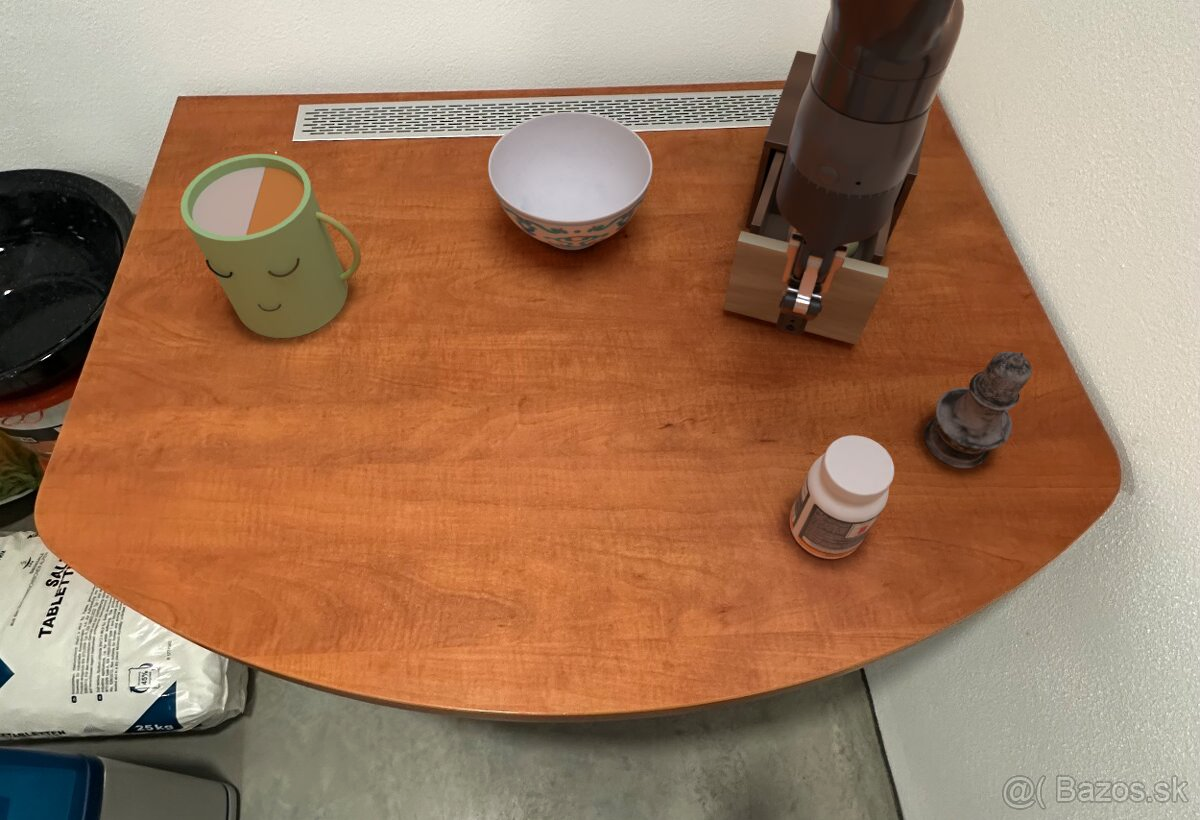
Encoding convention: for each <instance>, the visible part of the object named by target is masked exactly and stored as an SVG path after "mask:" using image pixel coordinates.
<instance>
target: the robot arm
mask: <svg viewBox="0 0 1200 820" xmlns="http://www.w3.org/2000/svg"><path fill="white" fill-rule="evenodd" d="M964 16H965V6H964V2H963V0H830V5H829V10H828V13H827V16H826V19H825V22H824V26H823V29H822V33H821V36H820V40H819V44H818V48H817V51H816V59H815V63H814V66H813V70H812V74H811V77H810V80H809V83H808V85H807V87H806V90H805V92H804V94H803V96H802V99H801V101H800V104H799V108H798V111H797V114H796V118H795V122H794V126H793V130H792V133H791V137H790V141H789V145H788V149H787V153H786V157H785V161H784V164H783V168H782V172H781V176H780V180H779V184H778V187H777V193H776V199H777V205H778V208H779V210H780V212H781V214H782V216H783V217H784V219H785V220H786V221H787V222H788V223H789V224H790V225H791V226H792V227H793V228H794V229H793V232H792V235H791V239H790V242H789V246H788V249H787V252H786V256H787V257H788V261H787V264H786V268H785V271H784V275H783V278H782V281H783V283H785V284H786V285H787V287H786V290H785V289H784V290H783V294H782V296H783V297H782V301H780V305H779V307H780V313H779V317H778V320H777V324H776V323H775V328H776V329H777V330H778V331H780V332H785V333H788V334H791V335H795V336H801V335H803V334H804V332H805V331H804V329H805V327H806V324H807V321H808V320H810V321H812V320H814V319H815V318H816V317H817V316H818V313H821V310H822V305H821V303H822V300H821V299H822V294H824V293H827V292H828V291H829V288H830V286H831V283H832V281H833V278H834V276H835V273H836V271H837V270H839V269H841V268H842V265H843V263H844V260H845V258H846V255H847V251H848V248H849V245H846V244H849V243H853V242H858V241H862V240H864V239H867V238H869V237H871V236H873V235H874V234H876V233H877V232H878V231H879V230H880V229H881V228H882V227H883V226H884V225H885V223H886V222H887V220H888V217H889V215H890V213H891V210H892V208H893V206H894V203H895V201H896V199H897V196H898V194H899V192H900V189H901V187H902V185H903V182H904V180H905V178H906V175H907V173H908V170H909V168H910V166H911V163H912V161H913V159H914V156H915V154H916V152H917V149H918V147H919V145H920V142H921V140H922V137H923V134H924V130H925V127H926V128H927V126H926V123H927V124H928V120H927V119H929V115H930V111H931V107H932V105H933V102H934V100H935V98H936V95H937V93H938V91H939V89H940V86H941V84H942V81H943V79H944V76H945V74H946V71H947V69H948V68H949V64H950V63H951V60H952V57H953V55H954V53H955V52H954V51H955V49H956V47H957V44H958V41H959V39H960V34H961V32H962V27H963V23H964Z"/></svg>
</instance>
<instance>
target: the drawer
mask: <svg viewBox="0 0 1200 820" xmlns="http://www.w3.org/2000/svg"><path fill="white" fill-rule="evenodd" d="M786 153H787V152H786V151H781V150H776V153H775V156H774V159H773V162H772V165H771V168H770V171H769V174H768V177H767V180H766V183H765V186H764V188H763V191H762V194H761V197H760V200H759V203H758V206H757V209H756V212H755V215H754V218H753V221H752V223H751V228H750V227H749V232H748V231H744V230H741V231H740V232H739V236H738V239H737V242H736V247H735V251H734V255H733V261H732V267H731V270H730V273H729V274H730V275H729V280H728V284H727V289H726V293H725V297H724V302H723V307H722V310H725V311H728V312H732V313H735V314H739V315H743V316H746V317H749V318H750V317H751V318H755V319H757V320H762V321H766V322H769V323H773V324H775V325H776V324H777V320H778V317H779V313H780V307H779V305H780V301H782V297H783V296H782V294H783V290H784V289H785V290H786V287H787V285H786V284H785V283H783V281H782V278H783V275H784V271H785V268H786V264H787V261H788V257H787V256H786V252H787V249H788V246H789V243H788V242H786V239H787V236H788V231H789V226H790V224H789V223H788V222H787V221H786V220H785V219H784V217H783V216H782V214H781V212H780V210H779V208H778V205H777V199H776V193H777V187H778V184H779V180H780V176H781V172H782V168H783V164H784V161H785V157H786ZM894 204H895V203H894ZM893 209H894V206H893V208H892V210H891V213H890V215H889V217H888V220H887V222H886V223H885V225H884V226H883V227H882V228H881V229H880V230H879V231H878V232H877V233H876V234H874V235H873V236H871V237H869V238H867V239H864V240H862V241H859V246H858V249H857V251H856V253H855V255H854V256H853V257H852V258H848V257H846V258H845V260H844V263H843V265H842V268H841V269H839V270H837V271H836V273H835V276H834V278H833V281H832V283H831V286H830V288H829V291H828V292H827V293H824V294H822V299H821V300H822V303H821V305H822V310H821V313H818V316H817V317H816V318H815V319H814V320H812V321H810V320H808V321H807V324H806V327H805V329H804V332H806V333H810V334H814V335H818V336H822V337H825V338H828V339H832V340H836V341H840V342H844V343H848V344H852V345H858V343H859V341H860V339H861V336H862V334H863V332H864V330H865V328H866V326H867V324H868V321H869V319H870V317H871V315H872V312H873V310H874V308H875V306H876V304H877V302H878V300H879V297H880V295H881V293H882V291H883V289H884V286H885V284H886V282H887V280H888V278H889V273H890V267H888V266H884V265H881V263H882V262H883V260H884V256H885V251H886V248H885V247H887V245H886V242H887V237H888V233H889V228H890V223H891V218H892V213H893Z"/></svg>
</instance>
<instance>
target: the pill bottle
mask: <svg viewBox="0 0 1200 820" xmlns="http://www.w3.org/2000/svg"><path fill="white" fill-rule="evenodd" d="M893 461H894V460H893V459H892V456H891V455H890V453H889V452H888V451H887V450H886V448H885V447H883V446H882V445H881V444H880V443H879V442H877V441H875V440H873V439H871V438H869V437H866V436H862V435H854V434H853V435H844V436H841V437H839V438H837V439H835V440H834V441H832V443H830V444H829V446H828V447H827V448H826V450H825V452H824V453H822V455H820V456H819V457H818V458H816V459H815V461H813V463H812V465H811V466H810V469H809V470H808V472H807V475H806V476H805V478H804V481H803V483H802V485H801V488H800V490H799V492H798V494H797V496H796V498H795V501H794V502H793V504H792V507H791V509H790V514H789V526H790V531H791V533H792V536H793V537H794V539H795V541H796V542H797V543H798V544H799V546H800V547H801V548H803V549H804V550H805V551H806V552H808V553H810V554H811V555H813V556H815V557H818V558H822V559H825V560H837V559H842V558H845V557H847V556H849V555H851V554H852V553H854V551H856V550H857V548H859V546H860V545H861V544H862V542H863V541H864V540H865V538H866V536H867V535H868V533H869V531H870V530H871V528H872V527H873V526H874V524H875V522H876V521H877V520H878V518H879V516H880V515H881V513H882V512H883V511H884V510H885V507H886V505H887V502H888V499H889V495H890V493H889V492H890V486H891V484H892V482H893V480H894V477H895V465H894V462H893Z"/></svg>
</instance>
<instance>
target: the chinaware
mask: <svg viewBox="0 0 1200 820" xmlns="http://www.w3.org/2000/svg"><path fill="white" fill-rule="evenodd" d="M487 169H488V170H487V171H488V177H489V182H490V184H491V187H492V189H493V192H494V194H495V196H496V199H497V201H498V202H499V204H500V206H501V208H503V211H504V212H505V213H506V215H507V216H508V217H509V219H510V220H511V221H512V222H513V223H514V224H515V225H516V226H517V227H518V228H520V230H522V231H523V232H525V233H526V234H528V235H529V236H530V237H533V238H534V239H536V240H538V241H539V242H540V241H541V242H543V243H546V244H549V245H551V246H553V247H555V248H558V249H561V250H569V251H576V250H577V251H578V250H582V249H586V248H589V247H591V246H593V245H595V244H596V243H599V242H601V241H604V240H606V239H608V238H609V237H611V236H613V235H615V234H616V233H618V232H619V231H620V230H621V229H622V228H623V227H625V226H626V225H627V224H628V223H629V221H630V220H631V219H632V218H633V217H634V216H635V214H636V213H637V211H638V210H639V208H640V207H641V205H642V203H643V201H644V199H645V197H646V194H647V193H648V189H649V186H650V184H651V179H652V175H653V159H652V155H651V151H650V150H649V148H648V146H647V144H646V143H645V142H644V140H643V139H642V138H641V137H640V136H639V135H638V134H637V133H636V132H635V131H634V130H632V128H629V126H626V125H625V124H624V123H621V122H619V121H617V120H615V119H612V118H610V117H607V116H604V115H600V114H595V113H590V112H583V111H560V112H552V113H546V114H543V115H539V116H538V115H537V116H534V117H532V118H529V119H526V120H525V121H522V122H520V123H519V124H517V125H514V126H513V127H512V128H510V129H509V130H507V132H505V133H504V134H503V135H502V136H501V137H500V138H499V140H498V141H496V143H495V145H494V147H493V148H492V150H491V152H490V154H489V158H488V163H487Z"/></svg>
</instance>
